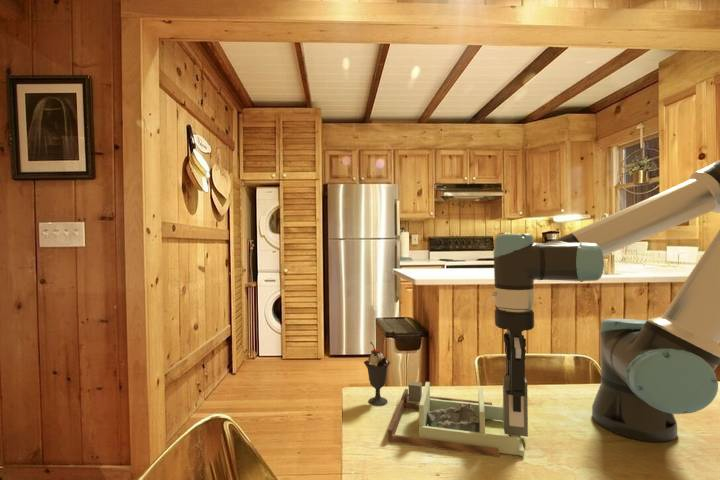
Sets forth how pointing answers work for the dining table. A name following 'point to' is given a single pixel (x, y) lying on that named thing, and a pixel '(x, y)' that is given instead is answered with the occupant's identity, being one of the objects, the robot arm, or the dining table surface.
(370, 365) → the sundae
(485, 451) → the frame
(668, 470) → the dining table surface
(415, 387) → the broken strip
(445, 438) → the sage green shelf unit
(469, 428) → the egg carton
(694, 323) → the robot arm
